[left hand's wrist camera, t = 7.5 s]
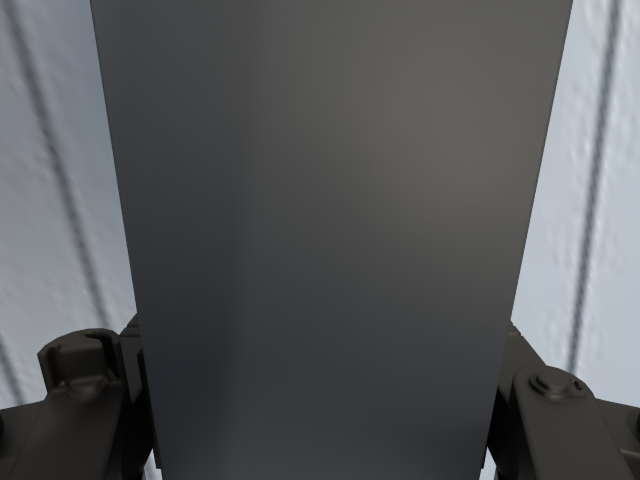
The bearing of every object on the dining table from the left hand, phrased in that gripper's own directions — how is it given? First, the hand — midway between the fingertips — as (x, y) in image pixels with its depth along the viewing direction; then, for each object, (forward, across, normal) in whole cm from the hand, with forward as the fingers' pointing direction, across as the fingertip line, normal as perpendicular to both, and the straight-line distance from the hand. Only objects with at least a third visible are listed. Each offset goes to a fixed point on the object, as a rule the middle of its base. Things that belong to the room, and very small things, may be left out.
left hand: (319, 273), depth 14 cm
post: (0, 0, -22) cm, 22 cm away
